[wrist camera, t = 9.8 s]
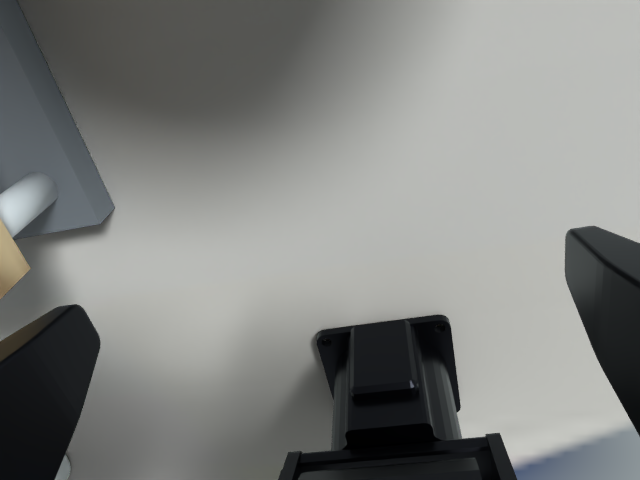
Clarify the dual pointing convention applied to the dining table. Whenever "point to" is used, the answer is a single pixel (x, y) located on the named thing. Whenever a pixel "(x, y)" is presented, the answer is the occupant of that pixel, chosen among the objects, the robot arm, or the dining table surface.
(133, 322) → the dining table surface
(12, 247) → the oak plank
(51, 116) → the peg stand
